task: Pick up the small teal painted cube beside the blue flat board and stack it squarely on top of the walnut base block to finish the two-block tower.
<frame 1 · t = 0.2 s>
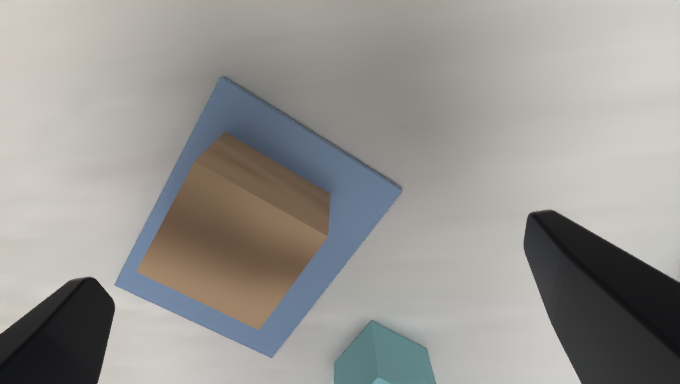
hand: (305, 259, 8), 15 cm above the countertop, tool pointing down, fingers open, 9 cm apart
blue flat board: (252, 235, 25), on the countertop
walnut base block: (251, 209, 24), point 1 cm above the countertop, touching blue flat board
teal cube: (380, 355, 30), on the countertop
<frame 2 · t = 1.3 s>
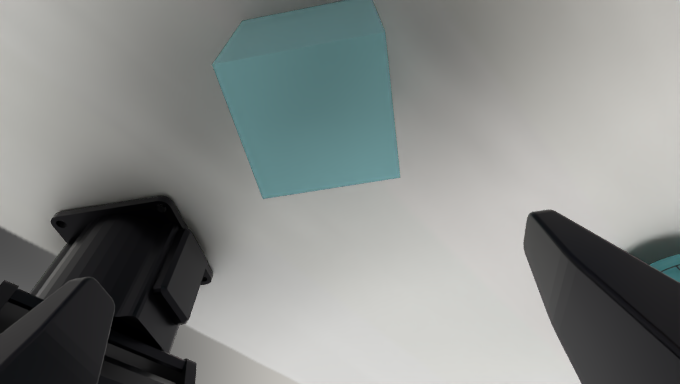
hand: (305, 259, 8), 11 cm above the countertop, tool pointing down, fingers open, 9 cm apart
beverage bottle: (652, 265, 25), on the countertop
teal cube: (319, 70, 17), on the countertop
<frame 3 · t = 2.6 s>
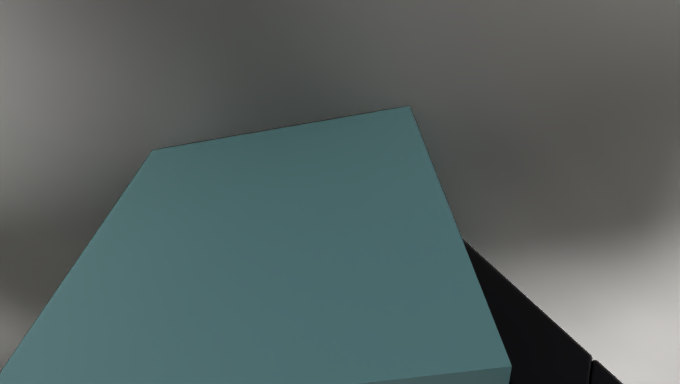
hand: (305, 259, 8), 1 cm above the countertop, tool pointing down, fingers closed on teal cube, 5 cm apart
teal cube: (306, 225, 9), on the countertop, touching gripper
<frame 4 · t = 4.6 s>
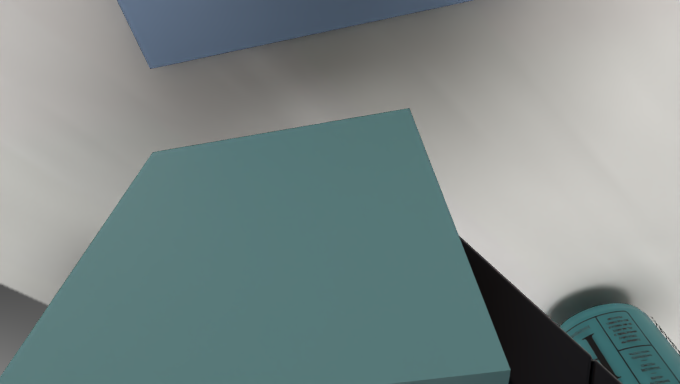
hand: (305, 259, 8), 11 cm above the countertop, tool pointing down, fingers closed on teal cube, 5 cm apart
beverage bottle: (585, 310, 29), on the countertop
teal cube: (306, 227, 9), point 10 cm above the countertop, touching gripper
when the fingers open (8 cm above the countertop, at t = 6.3 s): teal cube drops 1 cm, resting on walnut base block.
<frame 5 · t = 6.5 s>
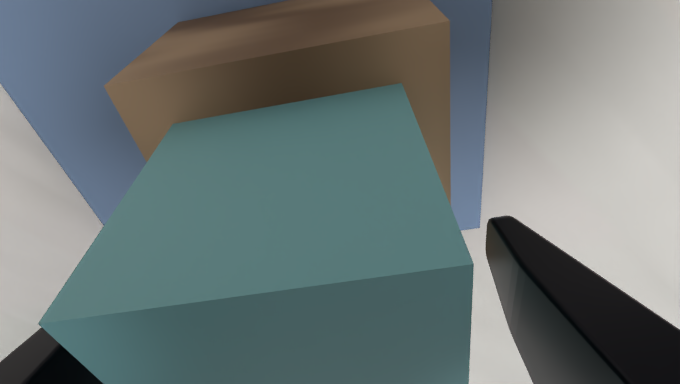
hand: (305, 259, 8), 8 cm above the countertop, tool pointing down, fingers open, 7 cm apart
blue flat board: (269, 133, 15), on the countertop
walnut base block: (314, 107, 14), point 1 cm above the countertop, touching blue flat board, teal cube
teal cube: (310, 195, 10), point 6 cm above the countertop, touching walnut base block
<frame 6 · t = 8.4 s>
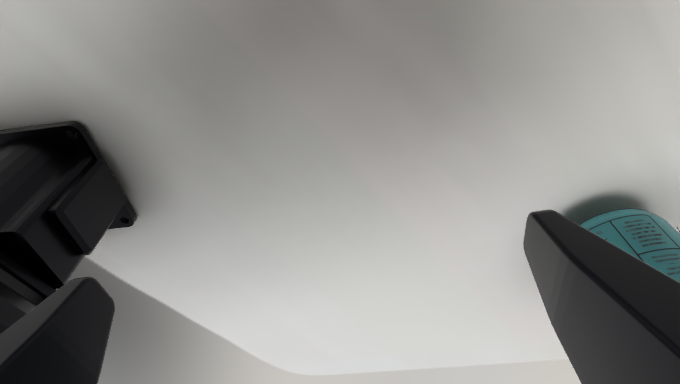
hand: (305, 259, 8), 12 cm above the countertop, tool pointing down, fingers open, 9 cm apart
beverage bottle: (593, 228, 24), on the countertop
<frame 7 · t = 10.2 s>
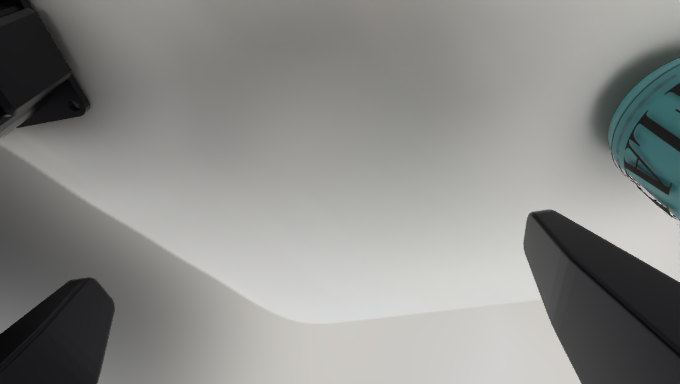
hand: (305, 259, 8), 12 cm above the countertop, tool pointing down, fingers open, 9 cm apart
beverage bottle: (653, 100, 19), on the countertop
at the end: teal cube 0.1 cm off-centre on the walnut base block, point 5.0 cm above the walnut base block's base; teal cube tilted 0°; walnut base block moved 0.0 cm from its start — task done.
